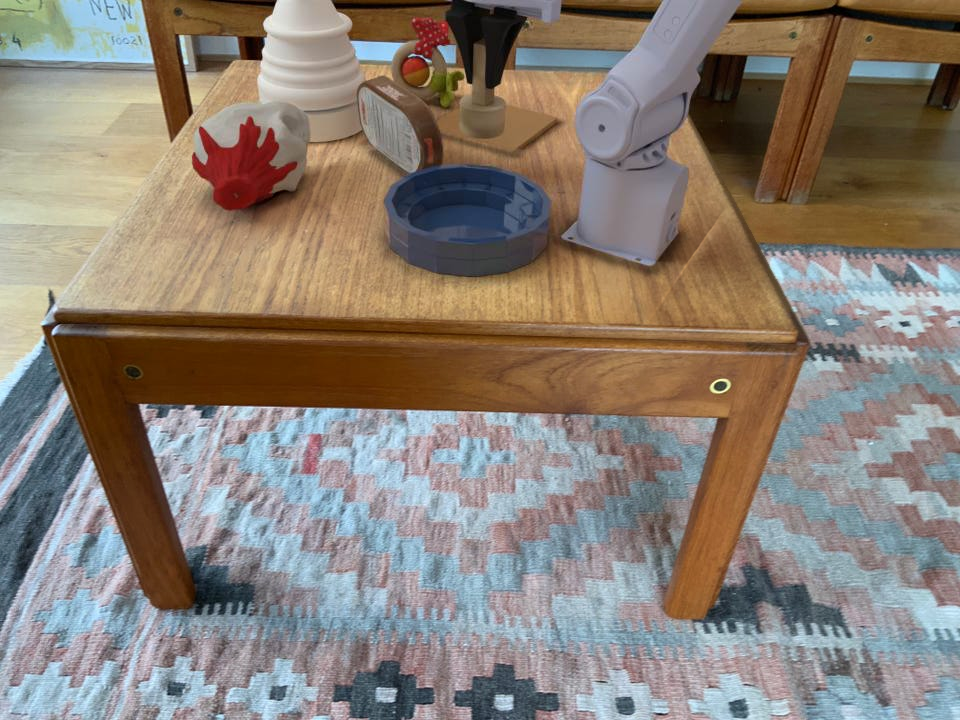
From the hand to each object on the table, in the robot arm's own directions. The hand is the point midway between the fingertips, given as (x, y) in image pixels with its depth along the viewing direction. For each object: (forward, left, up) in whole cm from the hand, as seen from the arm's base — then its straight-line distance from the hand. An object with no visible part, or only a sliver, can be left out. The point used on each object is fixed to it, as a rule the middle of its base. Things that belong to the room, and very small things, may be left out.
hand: (484, 83), depth 80 cm
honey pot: (+25, -2, -11) cm, 27 cm away
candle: (+17, +17, -11) cm, 26 cm away
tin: (+10, +2, -11) cm, 15 cm away
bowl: (-5, +12, -11) cm, 17 cm away
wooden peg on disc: (0, 0, -5) cm, 5 cm away
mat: (+6, -13, -11) cm, 18 cm away
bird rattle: (+17, -15, -11) cm, 25 cm away
